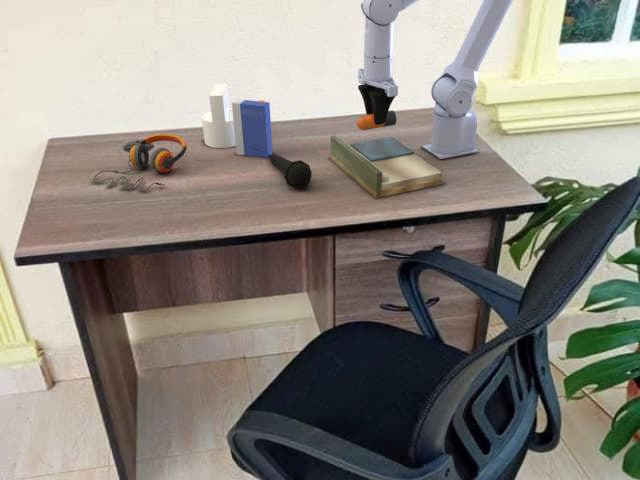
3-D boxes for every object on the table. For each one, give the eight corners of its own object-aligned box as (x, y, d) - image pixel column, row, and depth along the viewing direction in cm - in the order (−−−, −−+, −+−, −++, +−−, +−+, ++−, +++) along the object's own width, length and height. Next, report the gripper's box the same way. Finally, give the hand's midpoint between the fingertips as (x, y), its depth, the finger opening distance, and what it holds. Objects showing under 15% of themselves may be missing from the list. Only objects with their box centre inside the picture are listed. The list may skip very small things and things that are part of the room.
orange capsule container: (390, 122, 145) (390, 108, 143) (396, 126, 142) (397, 112, 140) (354, 128, 142) (354, 114, 140) (360, 133, 140) (360, 119, 138)
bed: (391, 147, 151) (392, 125, 148) (442, 184, 135) (444, 160, 132) (330, 159, 146) (330, 136, 143) (376, 198, 130) (377, 173, 127)
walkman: (272, 153, 149) (269, 100, 142) (267, 158, 147) (264, 104, 140) (241, 149, 152) (236, 97, 144) (236, 154, 149) (231, 101, 142)
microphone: (263, 172, 148) (297, 197, 132) (253, 149, 145) (286, 172, 129) (284, 161, 149) (320, 184, 133) (274, 138, 146) (310, 158, 129)
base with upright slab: (240, 147, 153) (236, 95, 145) (202, 148, 153) (195, 96, 146) (244, 133, 160) (240, 83, 153) (207, 134, 160) (201, 84, 153)
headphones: (82, 172, 136) (137, 120, 147) (92, 193, 139) (144, 141, 151) (149, 186, 130) (201, 131, 141) (157, 207, 134) (207, 152, 145)
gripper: (345, 49, 137) (344, 113, 145) (376, 66, 127) (374, 135, 135) (375, 45, 140) (373, 109, 148) (408, 61, 129) (404, 129, 137)
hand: (375, 121), depth 141 cm, fingers closed on orange capsule container, 3 cm apart
